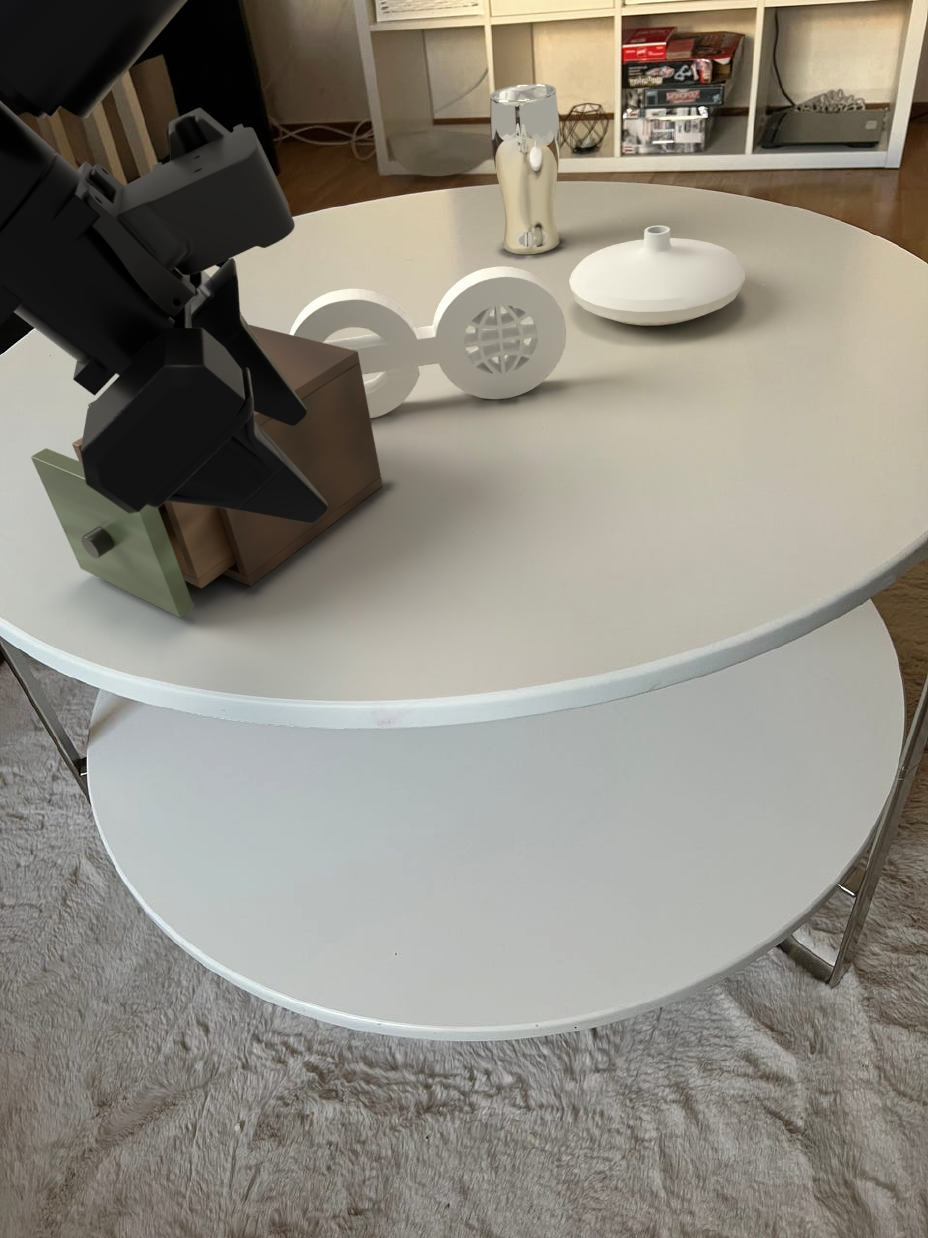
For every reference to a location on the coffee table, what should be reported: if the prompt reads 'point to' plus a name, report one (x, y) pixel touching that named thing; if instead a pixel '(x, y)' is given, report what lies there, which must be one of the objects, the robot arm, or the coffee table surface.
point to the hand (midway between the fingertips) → (310, 463)
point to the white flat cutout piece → (448, 336)
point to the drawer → (136, 537)
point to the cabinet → (309, 450)
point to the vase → (657, 279)
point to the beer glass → (527, 164)
